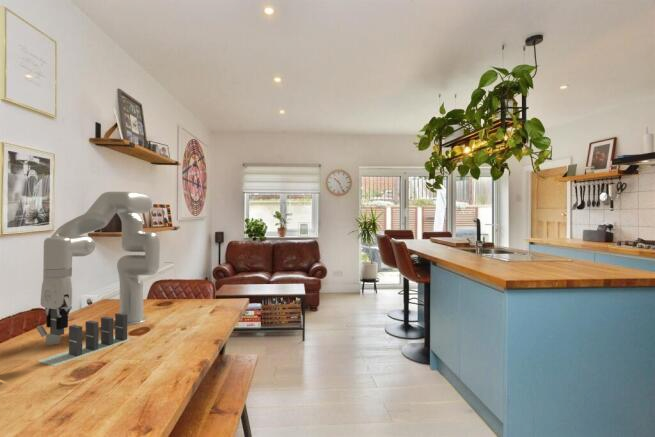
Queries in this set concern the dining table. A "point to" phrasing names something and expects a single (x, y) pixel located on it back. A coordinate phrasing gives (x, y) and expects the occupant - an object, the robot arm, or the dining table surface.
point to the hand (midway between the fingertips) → (57, 326)
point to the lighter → (49, 336)
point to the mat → (67, 357)
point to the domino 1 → (53, 322)
